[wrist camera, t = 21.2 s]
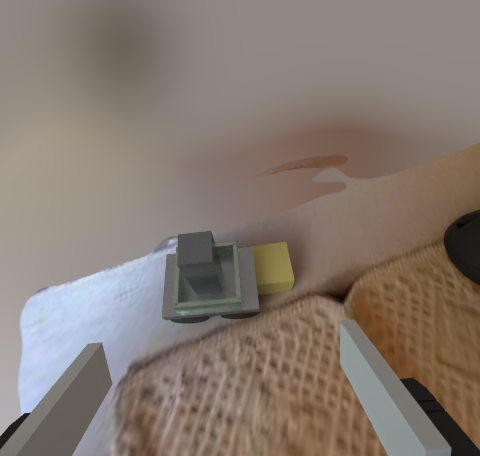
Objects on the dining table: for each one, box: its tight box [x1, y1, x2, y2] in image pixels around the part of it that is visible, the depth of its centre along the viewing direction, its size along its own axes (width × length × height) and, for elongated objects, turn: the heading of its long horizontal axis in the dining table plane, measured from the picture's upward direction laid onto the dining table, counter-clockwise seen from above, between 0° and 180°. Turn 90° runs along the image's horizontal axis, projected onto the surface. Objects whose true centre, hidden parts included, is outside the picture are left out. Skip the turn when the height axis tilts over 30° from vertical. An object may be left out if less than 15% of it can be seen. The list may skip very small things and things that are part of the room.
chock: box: [252, 242, 295, 295], centre depth 46 cm, size 6×7×6 cm
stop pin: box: [177, 231, 223, 294], centre depth 35 cm, size 4×4×11 cm
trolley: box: [162, 241, 259, 323], centre depth 42 cm, size 14×10×11 cm
